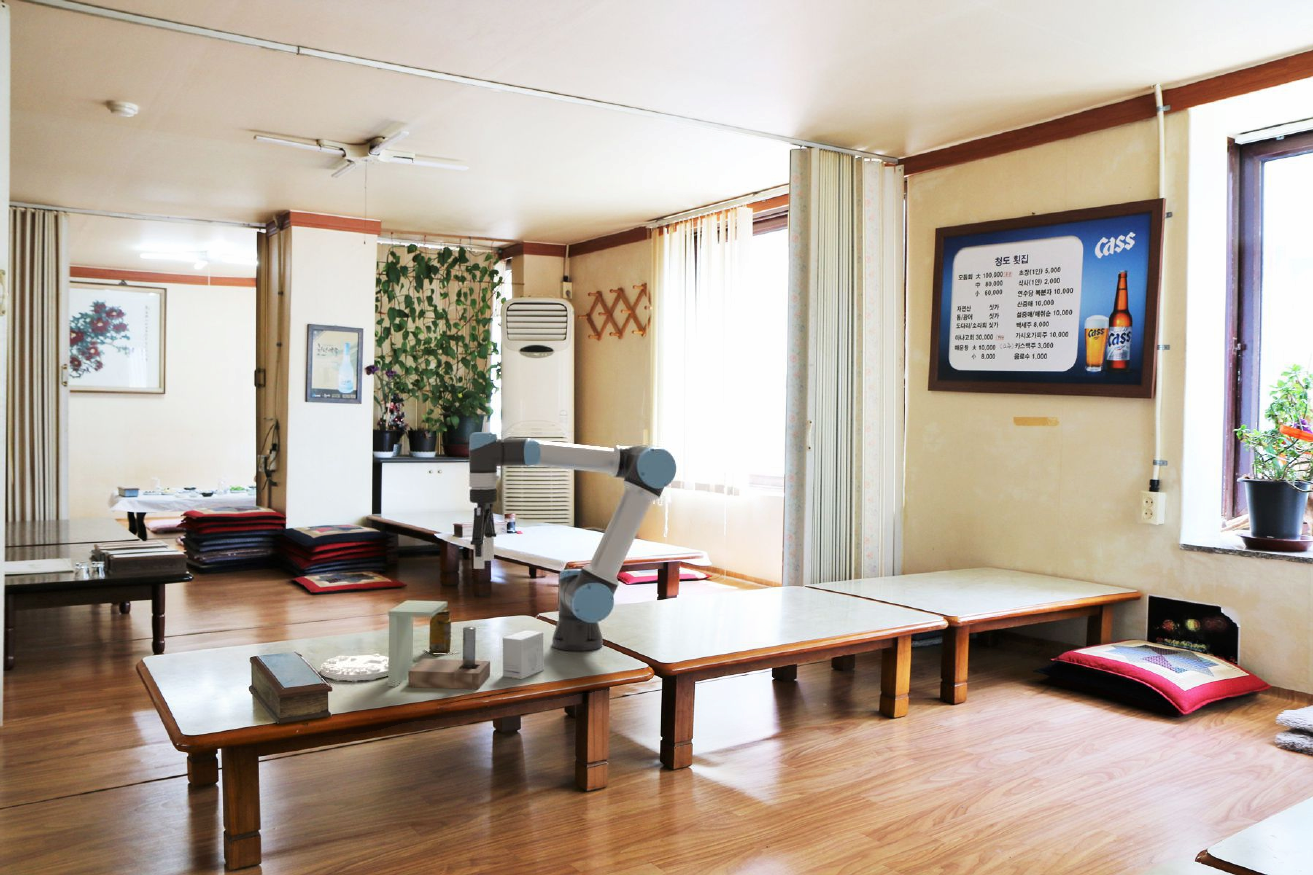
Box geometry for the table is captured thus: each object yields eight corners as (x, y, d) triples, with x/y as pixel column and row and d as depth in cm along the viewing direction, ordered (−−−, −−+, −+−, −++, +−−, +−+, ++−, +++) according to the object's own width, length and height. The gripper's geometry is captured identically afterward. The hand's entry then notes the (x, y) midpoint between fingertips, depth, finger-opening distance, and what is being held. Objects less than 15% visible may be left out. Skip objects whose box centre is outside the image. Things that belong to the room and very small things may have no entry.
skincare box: (524, 667, 258) (525, 629, 257) (544, 670, 255) (544, 631, 254) (501, 676, 248) (501, 636, 248) (521, 679, 245) (521, 639, 245)
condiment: (445, 647, 278) (446, 606, 277) (459, 653, 271) (459, 611, 271) (422, 650, 273) (423, 609, 273) (435, 656, 267) (436, 614, 266)
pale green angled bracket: (446, 673, 250) (447, 601, 249) (430, 688, 236) (431, 612, 235) (405, 671, 250) (406, 600, 250) (387, 686, 236) (388, 611, 236)
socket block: (489, 675, 248) (490, 660, 248) (478, 689, 236) (478, 673, 236) (423, 673, 249) (423, 658, 249) (408, 686, 237) (408, 670, 237)
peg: (464, 679, 244) (464, 626, 244) (476, 680, 244) (477, 626, 243) (460, 683, 241) (461, 629, 240) (473, 683, 240) (473, 629, 240)
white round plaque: (414, 670, 253) (414, 660, 253) (357, 687, 237) (357, 676, 236) (362, 659, 264) (362, 649, 264) (304, 674, 247) (304, 663, 247)
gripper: (488, 491, 247) (488, 572, 248) (504, 484, 272) (505, 557, 273) (459, 492, 247) (460, 572, 248) (479, 484, 272) (479, 557, 273)
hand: (484, 564), depth 260 cm, fingers open, 13 cm apart
